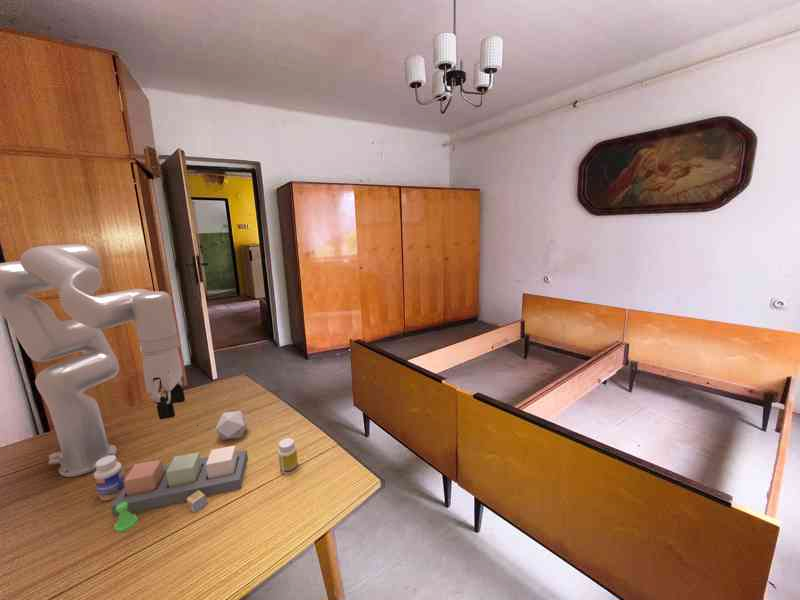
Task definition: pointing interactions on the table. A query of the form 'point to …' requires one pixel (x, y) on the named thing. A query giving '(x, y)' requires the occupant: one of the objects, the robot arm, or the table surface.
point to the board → (184, 488)
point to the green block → (184, 469)
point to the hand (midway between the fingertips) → (172, 409)
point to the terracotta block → (144, 477)
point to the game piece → (124, 518)
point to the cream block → (221, 462)
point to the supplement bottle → (287, 456)
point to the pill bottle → (109, 477)
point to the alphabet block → (196, 501)
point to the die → (231, 425)
